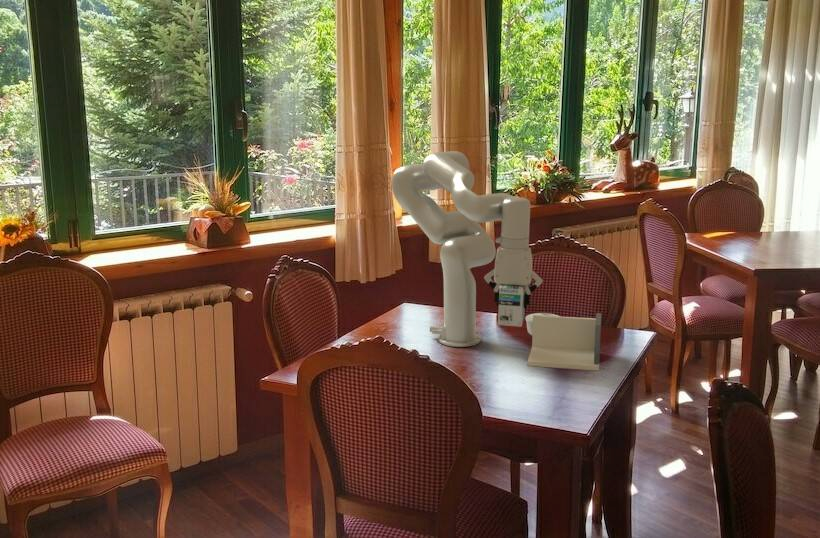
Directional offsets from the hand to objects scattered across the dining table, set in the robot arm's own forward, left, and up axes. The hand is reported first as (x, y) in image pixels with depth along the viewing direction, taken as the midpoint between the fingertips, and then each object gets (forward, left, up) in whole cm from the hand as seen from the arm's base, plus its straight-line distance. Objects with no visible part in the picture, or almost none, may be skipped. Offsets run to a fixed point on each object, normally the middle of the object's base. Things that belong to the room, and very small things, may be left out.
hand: (511, 305), depth 220 cm
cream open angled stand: (+15, +2, -15) cm, 21 cm away
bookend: (+23, +2, -14) cm, 27 cm away
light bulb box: (0, 0, -5) cm, 5 cm away
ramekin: (+7, +26, -16) cm, 31 cm away
